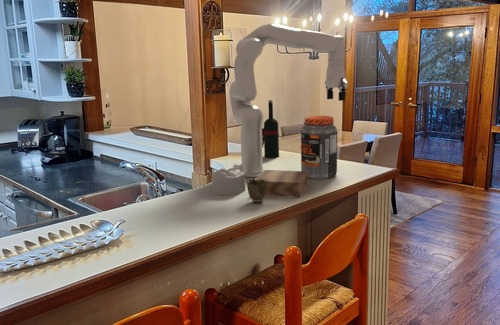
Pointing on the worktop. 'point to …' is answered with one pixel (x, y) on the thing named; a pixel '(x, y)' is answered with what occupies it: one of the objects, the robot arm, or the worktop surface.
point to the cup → (257, 189)
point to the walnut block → (285, 182)
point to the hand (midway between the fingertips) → (335, 99)
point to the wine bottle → (270, 135)
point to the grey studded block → (228, 182)
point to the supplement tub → (319, 147)
